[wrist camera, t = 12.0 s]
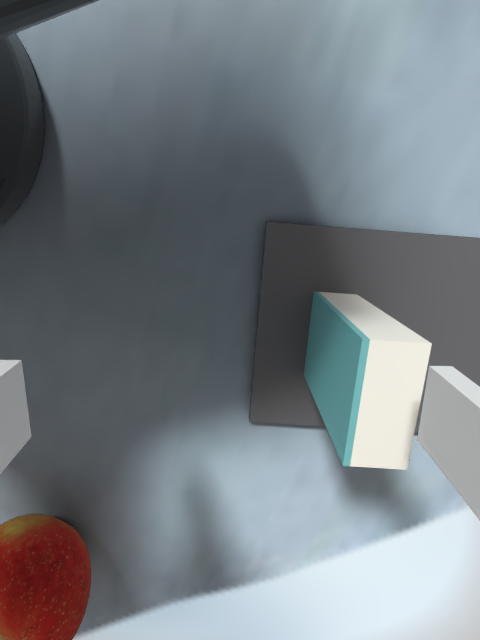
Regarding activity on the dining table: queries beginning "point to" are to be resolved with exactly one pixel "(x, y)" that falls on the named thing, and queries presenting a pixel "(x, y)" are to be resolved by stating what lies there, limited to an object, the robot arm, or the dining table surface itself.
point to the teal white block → (365, 379)
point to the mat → (372, 285)
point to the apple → (42, 579)
